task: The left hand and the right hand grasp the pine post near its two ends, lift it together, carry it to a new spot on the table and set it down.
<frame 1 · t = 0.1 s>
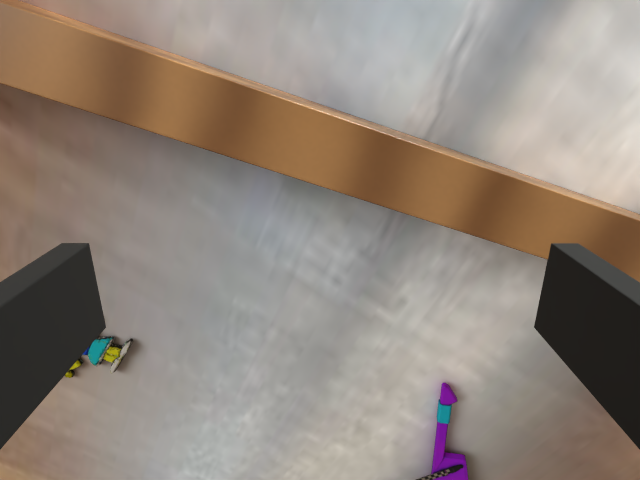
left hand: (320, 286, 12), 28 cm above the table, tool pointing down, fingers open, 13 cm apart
toy 2: (53, 334, 46), on the table
post: (367, 151, 39), on the table
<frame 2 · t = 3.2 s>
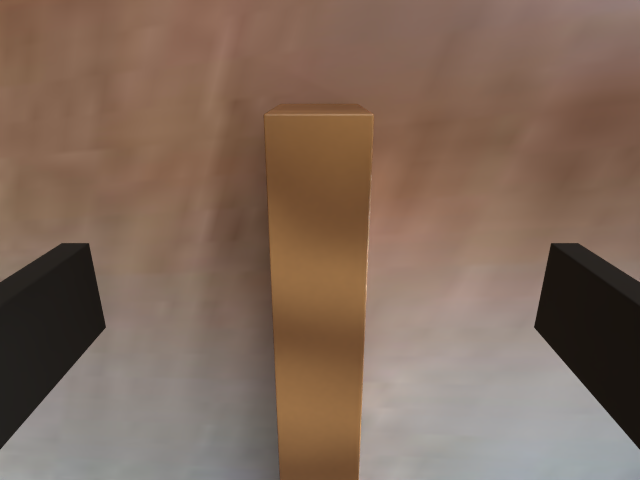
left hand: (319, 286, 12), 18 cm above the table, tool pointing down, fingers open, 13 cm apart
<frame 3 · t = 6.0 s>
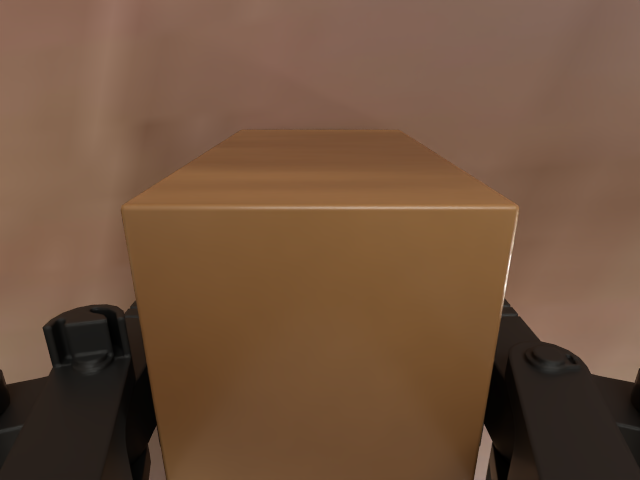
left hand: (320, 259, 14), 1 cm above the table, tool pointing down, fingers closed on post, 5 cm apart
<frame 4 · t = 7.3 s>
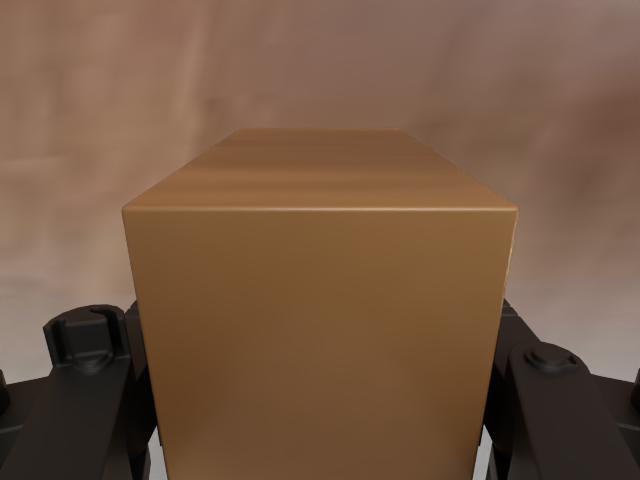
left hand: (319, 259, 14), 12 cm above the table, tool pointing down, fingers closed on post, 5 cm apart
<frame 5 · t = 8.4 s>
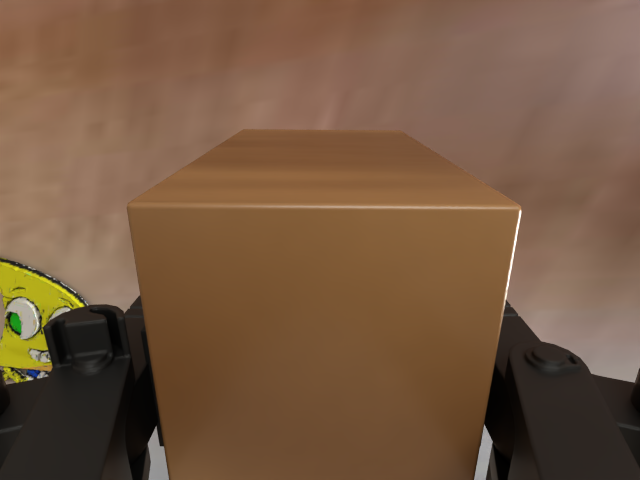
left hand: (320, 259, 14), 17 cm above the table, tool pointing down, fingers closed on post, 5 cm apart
toy 2: (51, 349, 36), on the table
when the left hand's fingers open (2 cm above the table, at t = 11.2 s): post stays where it is, on the table.
when the right hand's fingers open (5 cm above the table, at t = 11.4 s): post stays where it is, on the table.
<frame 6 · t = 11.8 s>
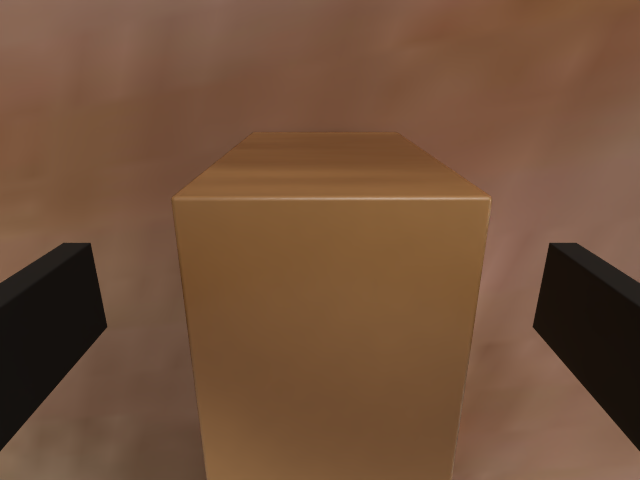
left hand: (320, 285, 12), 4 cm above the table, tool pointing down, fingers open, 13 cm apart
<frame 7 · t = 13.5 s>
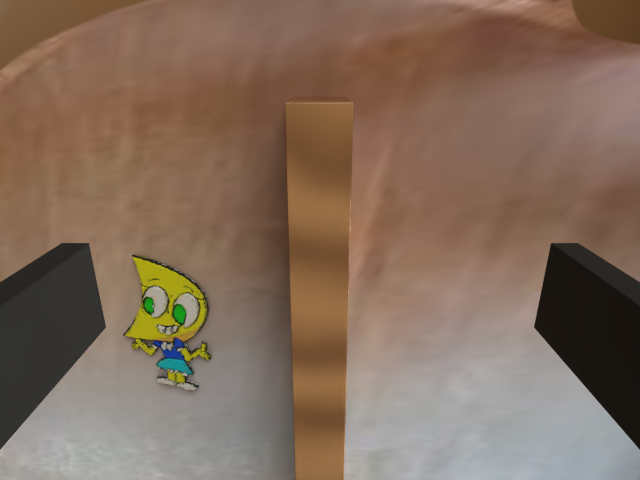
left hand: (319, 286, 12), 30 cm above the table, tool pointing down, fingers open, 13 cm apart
toy 2: (171, 325, 48), on the table
post: (319, 437, 53), on the table
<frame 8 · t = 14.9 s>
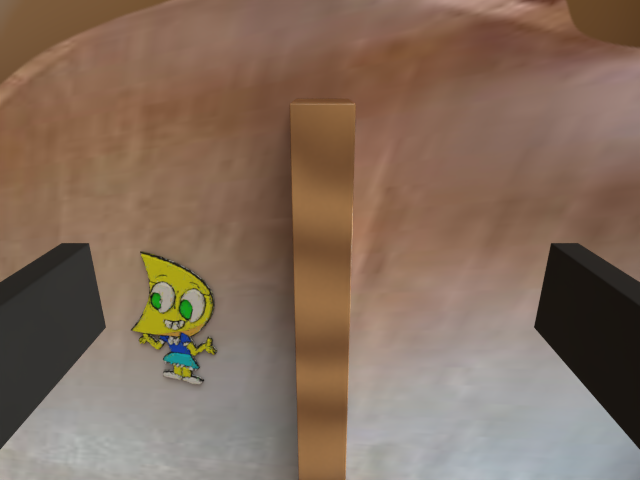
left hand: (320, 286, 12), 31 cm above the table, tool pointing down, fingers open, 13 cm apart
toy 2: (178, 320, 49), on the table
post: (321, 431, 55), on the table
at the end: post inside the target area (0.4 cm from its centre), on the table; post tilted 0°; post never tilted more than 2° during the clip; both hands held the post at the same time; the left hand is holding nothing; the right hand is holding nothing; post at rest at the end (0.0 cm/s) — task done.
